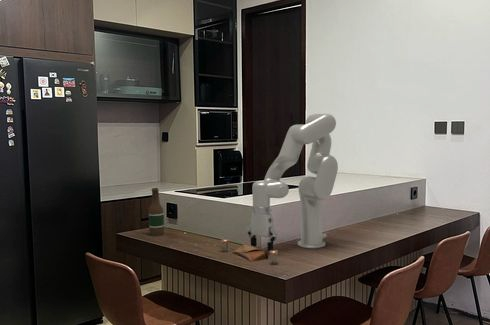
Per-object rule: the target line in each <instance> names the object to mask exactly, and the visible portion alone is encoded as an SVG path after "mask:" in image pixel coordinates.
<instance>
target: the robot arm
mask: <svg viewBox="0 0 490 325" xmlns="http://www.w3.org/2000/svg"><path fill="white" fill-rule="evenodd" d="M336 127H337V120H336V118H335V117H334V115H332V114H330V113H314V114H311V115H309V116H307V118H306V121H305V124H293V125H292V126H290V127H289V129H288V131H287V132H286V135H285V138H284V141H283V143H282V146H281V149H280V151H279V153H278V156H277V157H276V158H275V159H274V160H273V162H272V163H271V165H270V167H269V168H268V170H267V172H266V174H265V176H264V179H263V181H255V182H253V184H252V190H251V191H252V213H251V217H250V218H251V219H250V225H248V226H247V227H246V231H247V234H248V237H249V239H250V245H251V246H254V247H257V246H258V242H257V236H258V237H262V238H266V240H267V243H266V244H267V248H266V249H267V252H270V250H274V242H275V241H276V240H277V237H278V235H279V233H278V231H276V230H275V229H274V226H275V225H274V219H273V215H272V209H271V199H283V198H285V197H286V196H287V195H288V193H289V190H290V189H289V185H288V184H287V183H286V182H284V181H282V180H281V178H282V176H283V174H284V173H285V172H286V171H287V170H288V169H289V168H290V167H293V166H294V165H295V164H297V162H298V160H299V157H300V154H301V151H302V150H303V148H304V145H310V144H311V149H310V151H309V152H310V153H309V157H308V159H307V163H306V164H307V165H306V168H307V170H308V171H309V173H311V174H313V175H316V176H312V175H311V176H309V175H308V176H305V177H303V178H301V180H300V181H299V184H298V195H299V200H300V240H298V241H297V246H298V247H301V248H305V249H320V248H323V247H325V246H326V242H325V241H324V240H323V239H324V238H327V233H325V232H324V233H323V227H322V226H323V222H322V220H323V217H322V215H323V210H322V201H325V200H328V198H330V196H331V194H332V193H333V190H334V186H335V183H336V178H337V174H338V170H339V165H338V161H337V159H336V158H335V156H333V155H331V154H330V152H331V149H332V137H331V133H332V132H333V131H334V130H335V129H336Z"/></svg>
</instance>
